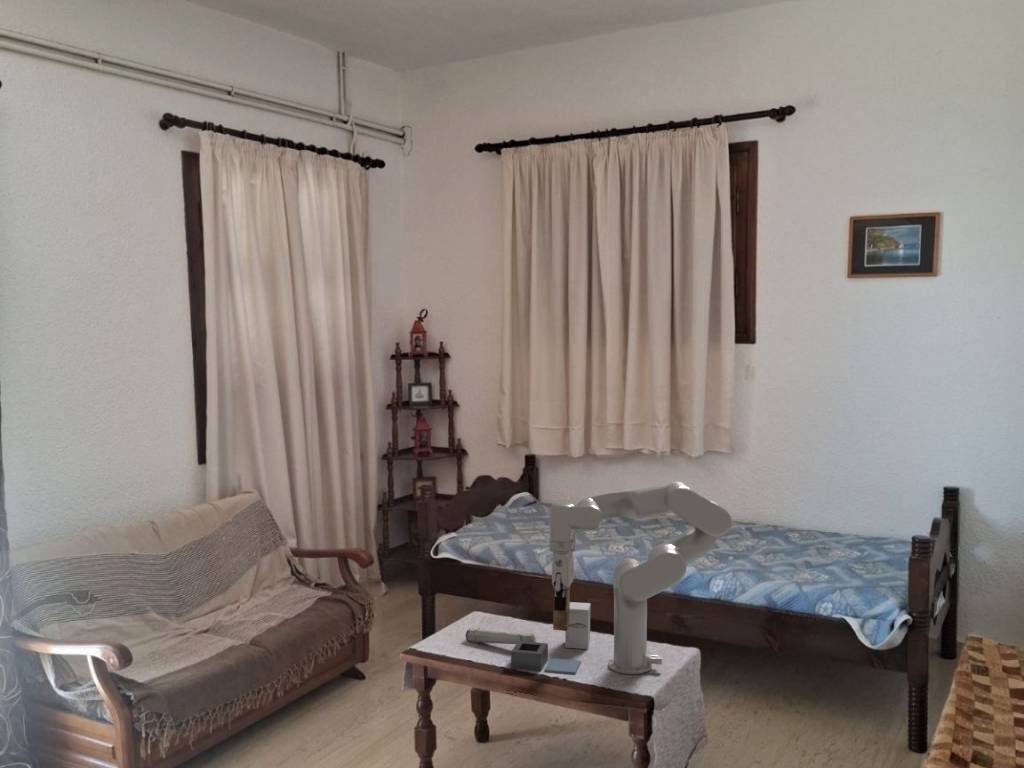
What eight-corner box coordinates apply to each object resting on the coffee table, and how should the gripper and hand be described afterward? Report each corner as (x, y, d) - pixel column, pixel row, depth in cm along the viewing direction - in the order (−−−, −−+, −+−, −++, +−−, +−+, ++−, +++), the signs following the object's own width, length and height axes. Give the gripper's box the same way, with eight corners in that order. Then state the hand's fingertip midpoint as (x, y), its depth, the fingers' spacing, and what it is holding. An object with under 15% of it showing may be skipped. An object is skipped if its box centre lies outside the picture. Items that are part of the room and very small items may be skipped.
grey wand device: (472, 626, 280) (540, 628, 267) (475, 647, 280) (543, 650, 267) (463, 631, 275) (532, 633, 263) (466, 652, 275) (535, 656, 263)
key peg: (570, 626, 256) (571, 581, 255) (567, 631, 252) (568, 586, 251) (554, 624, 257) (555, 580, 257) (551, 630, 253) (552, 585, 252)
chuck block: (547, 659, 261) (547, 643, 261) (541, 671, 252) (541, 654, 252) (518, 657, 263) (518, 640, 263) (511, 668, 254) (511, 651, 254)
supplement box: (564, 648, 270) (564, 608, 270) (567, 640, 278) (567, 601, 277) (588, 650, 269) (588, 609, 268) (590, 641, 276) (590, 602, 276)
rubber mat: (580, 662, 258) (580, 660, 258) (575, 674, 250) (575, 672, 250) (551, 660, 261) (551, 658, 261) (544, 671, 252) (544, 669, 252)
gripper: (569, 553, 244) (568, 617, 245) (580, 539, 260) (579, 600, 261) (543, 551, 246) (542, 615, 247) (555, 538, 262) (554, 598, 263)
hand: (561, 606), depth 254 cm, fingers closed on key peg, 4 cm apart
